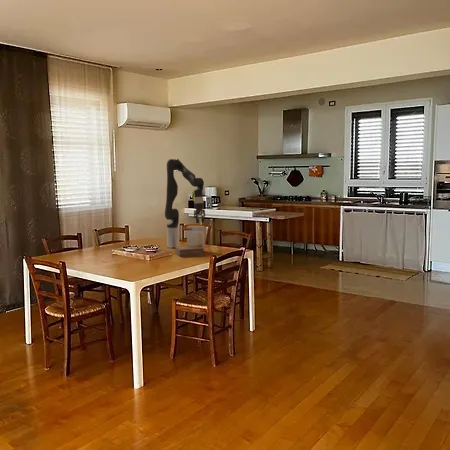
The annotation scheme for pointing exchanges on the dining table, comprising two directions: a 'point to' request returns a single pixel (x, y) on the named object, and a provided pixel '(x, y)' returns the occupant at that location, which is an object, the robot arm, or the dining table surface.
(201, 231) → the cracker box
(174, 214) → the robot arm
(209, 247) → the dining table surface
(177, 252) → the walnut block
